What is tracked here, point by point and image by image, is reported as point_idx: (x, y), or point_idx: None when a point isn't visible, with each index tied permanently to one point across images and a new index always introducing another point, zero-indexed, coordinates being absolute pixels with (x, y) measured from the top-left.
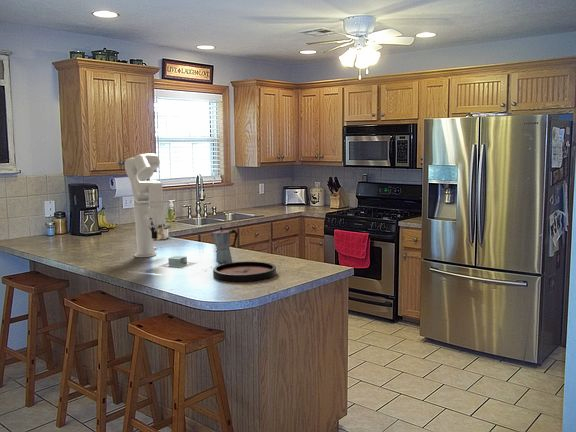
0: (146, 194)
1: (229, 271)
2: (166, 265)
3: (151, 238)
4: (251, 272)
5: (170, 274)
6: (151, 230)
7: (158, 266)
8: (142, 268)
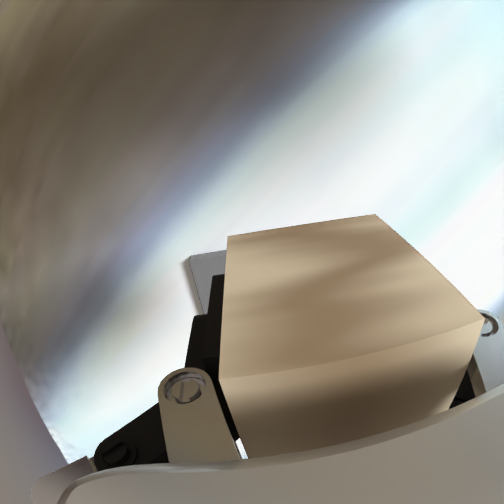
0: None
1: None
2: None
3: (227, 247)
4: None
5: (148, 383)
6: (159, 411)
7: (193, 267)
8: (137, 176)
